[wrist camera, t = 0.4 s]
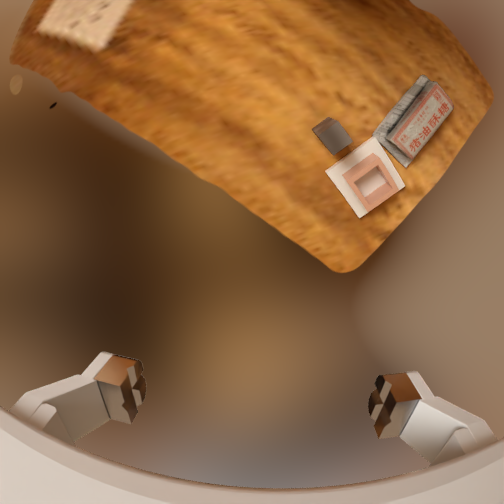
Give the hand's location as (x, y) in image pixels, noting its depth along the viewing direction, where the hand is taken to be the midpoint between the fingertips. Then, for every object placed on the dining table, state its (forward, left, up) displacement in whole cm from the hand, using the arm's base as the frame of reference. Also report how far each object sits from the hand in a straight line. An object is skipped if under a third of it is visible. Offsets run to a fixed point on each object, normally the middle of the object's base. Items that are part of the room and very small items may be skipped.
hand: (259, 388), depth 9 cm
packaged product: (-25, +13, -49) cm, 57 cm away
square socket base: (-9, +16, -49) cm, 52 cm away
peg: (-8, +4, -49) cm, 50 cm away
